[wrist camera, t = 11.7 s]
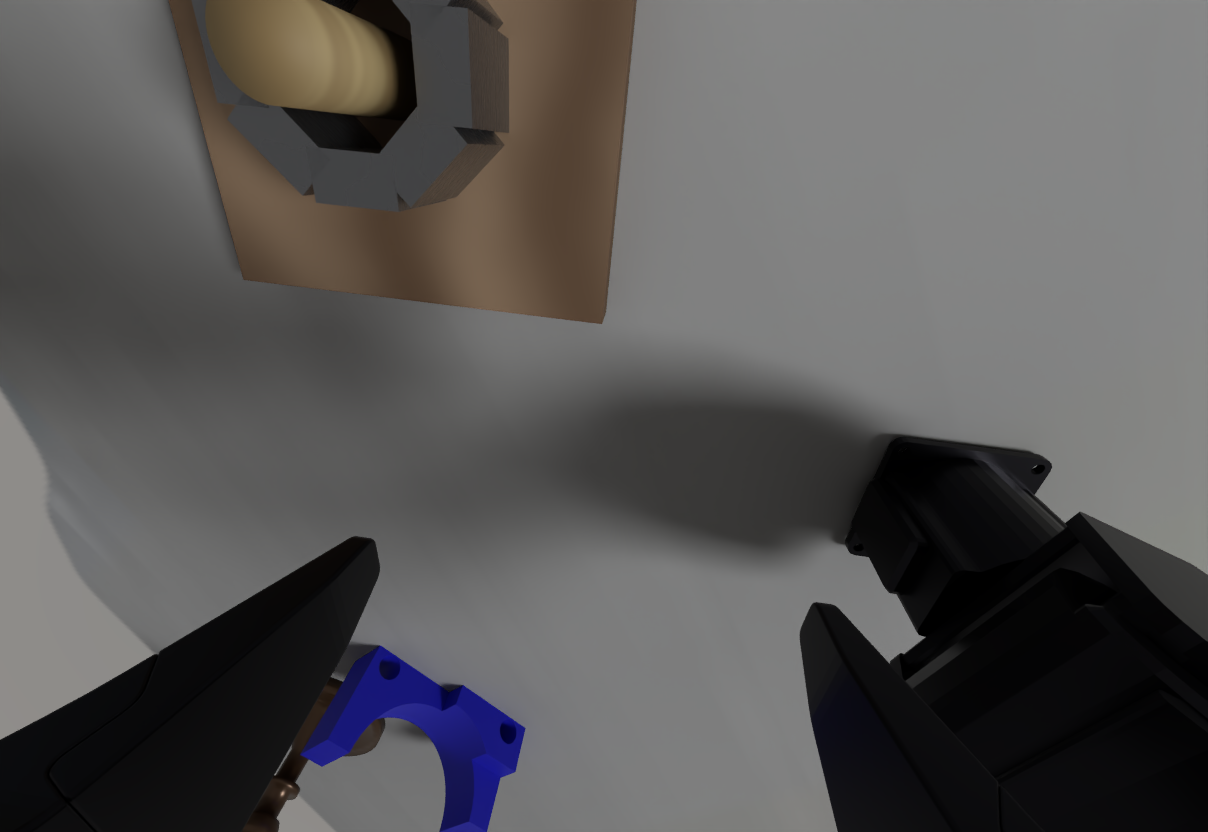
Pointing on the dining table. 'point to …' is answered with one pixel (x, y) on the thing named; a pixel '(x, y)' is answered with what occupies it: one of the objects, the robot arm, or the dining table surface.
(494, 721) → the cable clip
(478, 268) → the post block
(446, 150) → the ring
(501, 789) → the dining table surface
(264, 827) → the candlestick
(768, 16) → the dining table surface
